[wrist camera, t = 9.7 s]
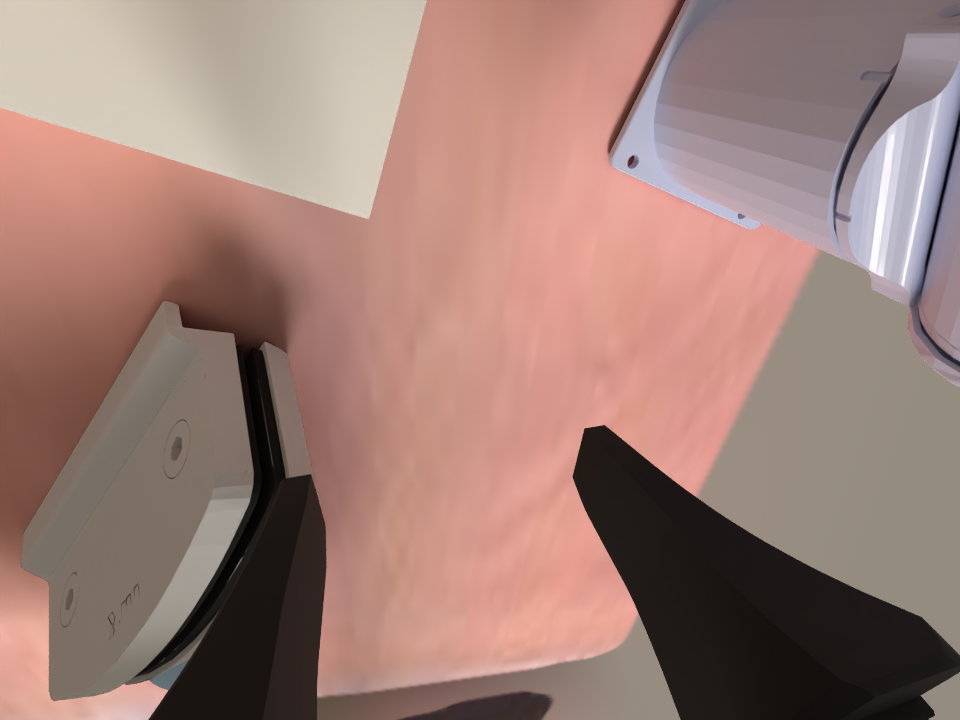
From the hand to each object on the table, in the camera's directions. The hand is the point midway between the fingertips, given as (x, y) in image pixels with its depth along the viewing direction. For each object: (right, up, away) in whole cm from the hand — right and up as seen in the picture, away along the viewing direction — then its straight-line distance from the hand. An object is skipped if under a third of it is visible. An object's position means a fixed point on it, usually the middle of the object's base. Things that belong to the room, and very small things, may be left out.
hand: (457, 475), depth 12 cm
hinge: (-14, -2, +10) cm, 18 cm away
